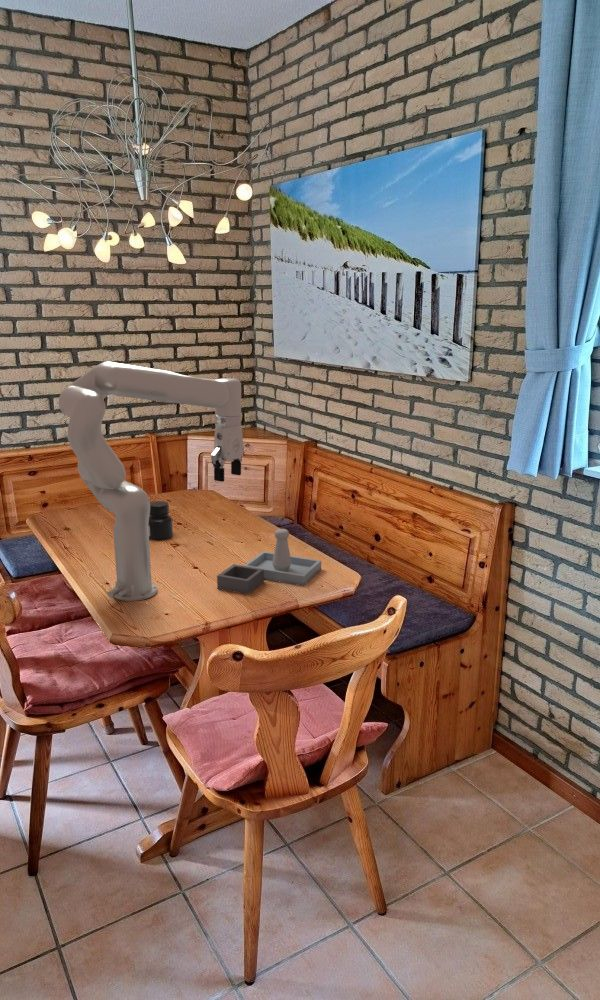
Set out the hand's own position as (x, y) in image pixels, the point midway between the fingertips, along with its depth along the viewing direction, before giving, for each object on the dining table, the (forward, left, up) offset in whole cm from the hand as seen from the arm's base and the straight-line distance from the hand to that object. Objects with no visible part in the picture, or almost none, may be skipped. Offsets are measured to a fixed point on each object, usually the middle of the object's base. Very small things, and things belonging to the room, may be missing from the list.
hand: (227, 477), depth 213 cm
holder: (-11, -10, -29) cm, 32 cm away
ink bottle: (+16, +36, -29) cm, 49 cm away
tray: (+3, -17, -29) cm, 33 cm away
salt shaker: (+3, -17, -28) cm, 33 cm away
